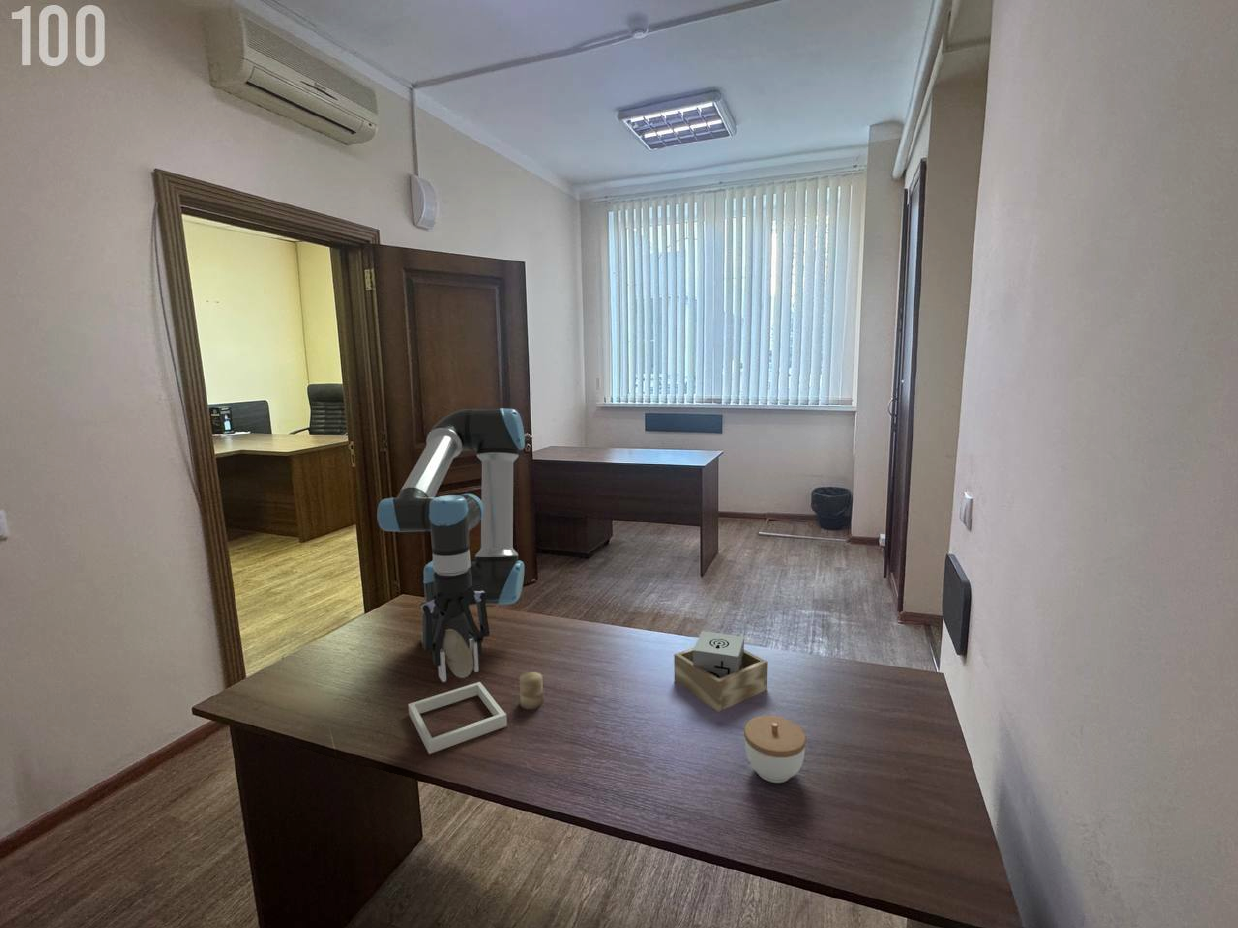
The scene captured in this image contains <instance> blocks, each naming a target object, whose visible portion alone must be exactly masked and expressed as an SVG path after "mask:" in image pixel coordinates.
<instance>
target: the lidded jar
mask: <svg viewBox="0 0 1238 928" xmlns="http://www.w3.org/2000/svg"><path fill="white" fill-rule="evenodd" d="M743 736H744V748H745V754H746V757H747V760H748V762H749V764H750V766H751V767H752V769H753V770H754V771H755V773H757V774H758V776H759V777H760V778H761V779H763V780H764V781H766V782H769V783H773V784H783V783H786V782H788V781H789V780H790V779H792V778H793V777H795V775H797V774H798V772H799V771H800V769H801V767H802V764H803V762H804V758H805V750H806V747H805V746H806V743H807V742H806V741H807V739H806V734H805V732H804V731H803V729H802V728H801V726H799V725H798V724H797V723H795V722H794V721H792V720H790V719H787V718H784V717H782V716H781V717H780V716H775V715H762V716H761V715H760V716H757V717H754V718H752V719H750V720H749V721H748V722H746V724H745V725H744V729H743Z"/></svg>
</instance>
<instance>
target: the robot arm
mask: <svg viewBox="0 0 1238 928" xmlns="http://www.w3.org/2000/svg"><path fill="white" fill-rule="evenodd" d="M425 441H426V442H425V443H426V446H425V447H424V449H423V451H422V453H421V454H420V456H419V458H418V460H417V461H416V464H415V465H414V467H413V469H412V470H411V472H410V474H409V476H408V478H407V479H406V481H405V483H404V485H403V486H402V488H401V489H400V492H399V493H398V494H397V496H396V497H393V496H392V497H389V498H384V499H382V500H380V502H379V504H378V506H377V512H376V515H377V516H376V518H377V522H378V525H379V526H378V527H380V529H381V530H382V531H384V532H398V533H404V532H405V533H407V532H409V533H410V532H430V538H431V540H430V541H431V551H432V552H431V553H432V560H431V561H429V562H428V563H427V564H425V566H424V568H423V581H422V583H423V590H424V602H421V603H420V605H419V606H420V607H419V608H420V610H421V612H422V631H421V635H420V640H421V641H420V642H421V647H422V648H423V650H424V651H425V652H426V653H432V663H433V664H434V665H433V666H435V668H438V677H439V679H440V680H441V682H442V683H445V682H447V673H446V671H447V670H446V660H445V654H444V651H443V649H442V642H443V639H444V635H445V631H446V630H447V629H452V630H455V631H457V632H458V633H459V634H460V635H461V636H462V637H463V639H464V640H465V642H466V643H467V645H468V647H469V649H470V652H471V654H472V657H473V669H472V671H474V673H477V672H479V655H482V652H483V651H482V650H483V649H482V643H483V641H484V638H485V637H489V635H490V628H489V627H490V625H489V620H488V614H487V613H488V612H487V605H489V606H491V605H492V606H493V605H494V606H496V605H498V606H503V605H513V604H515V603H516V602H517V601H519V600H520V597H521V594H522V591H523V587H524V580H525V579H524V578H525V563H524V561H522V560H519V553H518V552H517V551H516V550H515V549H514V547H513V545H514V544H513V543H514V542H513V540H514V539H513V538H514V537H513V536H514V534H513V532H514V529H513V527H514V525H513V524H514V462H515V461H516V460H517V459H518V458H519V456H520V455H519V454H520V451H523V450H524V449H525V447H526V445H525V444H526V435H525V429H524V425H523V420H522V417H521V414H520V413H519V411H517V410H516V409H515V408H503V407H498V408H464V409H459V410H455V411H454V412H452V413H449V414H448V415H446V416H445V417H443V418H441V420H439V421H438V422H437V423H436V424H434V426H433V427H432V428H431V429H430V430H429V432H428V434H427V436H426V440H425ZM463 451H464V452H465V451H476V457H477V459H479V460H480V462H481V499H480V497H478V496H477V495H475V494H473V493H463V494H459V495H458V494H447V495H440V496H436V495H437V492H438V491H439V488H440V486H441V485H442V483H443V481H444V479H445V476H446V474H447V472H448V471H449V468H450V466H451V464H452V462H453V460H454V459H455V458H457V457H458V456H459V455H460V454H461V452H463ZM479 523H480V524H481V525H480V549H479V551H478V552H476V554H475V555H474V561H471V552H470V551H471V549H470V547H471V546H470V531H471V530H472V529H474V528H475V527H477V525H479ZM471 606H476V609H477V610H476V611H477V615H478V622H479V623H478V624H479V628H478V626H477V623H476V621H475V619H474V616H473V614H472V611H471Z"/></svg>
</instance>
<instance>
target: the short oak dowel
mask: <svg viewBox="0 0 1238 928" xmlns="http://www.w3.org/2000/svg"><path fill="white" fill-rule="evenodd" d="M543 691H544V689H543V675H542V673H540V672H537V671H528V672H524V673H523V674H522V675H520V676H519V697H520V700H519V701H520V706H521V707H522V708H524V709H526V710H534V709H535V710H536V709H538V708H540V707H542V705H543V704H544V692H543Z"/></svg>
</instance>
